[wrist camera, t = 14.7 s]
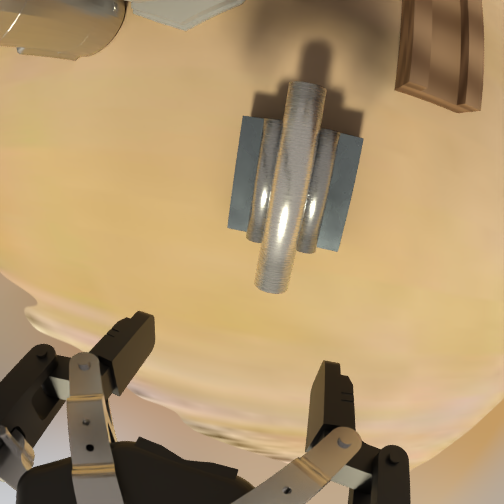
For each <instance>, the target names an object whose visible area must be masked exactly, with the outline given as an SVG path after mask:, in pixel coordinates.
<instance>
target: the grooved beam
mask: <svg viewBox="0 0 504 504" xmlns="http://www.w3.org/2000/svg"><path fill="white" fill-rule="evenodd" d="M483 74H484V25H483V10H482V0H402V19H401V34H400V47H399V57H398V67H397V75H396V83H395V90H396V91H399V92H402V93H405V94H408V95H411V96H414V97H417V98H420V99H423V100H425V101H428V102H431V103H434V104H436V105H439V106H441V107H444V108H446V109H449V110H451V111H454V112H456V113H463V112H473V111H481V101H482V90H483Z"/></svg>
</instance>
